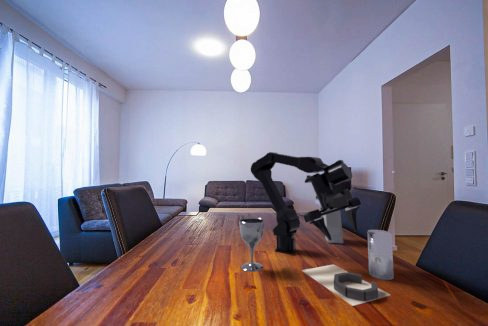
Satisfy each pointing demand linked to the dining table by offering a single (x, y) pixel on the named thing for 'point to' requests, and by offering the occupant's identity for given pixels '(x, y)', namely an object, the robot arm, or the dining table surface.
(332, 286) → the ring stand
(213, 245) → the dining table surface
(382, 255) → the grey round cylinder
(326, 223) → the skincare box
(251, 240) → the wine glass
